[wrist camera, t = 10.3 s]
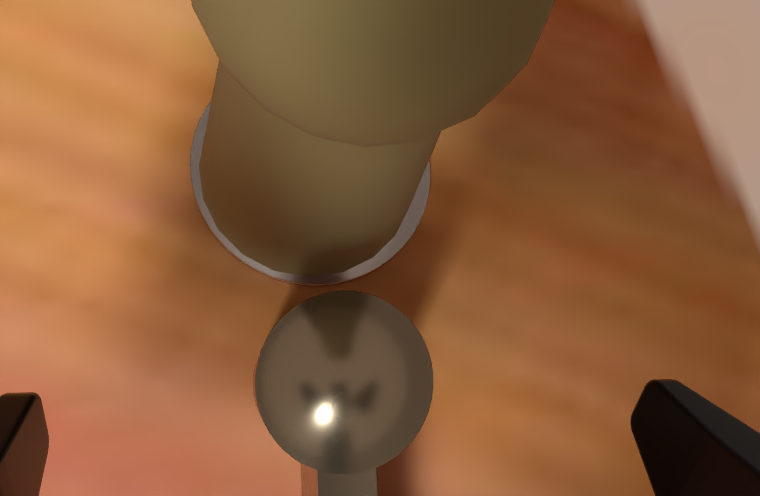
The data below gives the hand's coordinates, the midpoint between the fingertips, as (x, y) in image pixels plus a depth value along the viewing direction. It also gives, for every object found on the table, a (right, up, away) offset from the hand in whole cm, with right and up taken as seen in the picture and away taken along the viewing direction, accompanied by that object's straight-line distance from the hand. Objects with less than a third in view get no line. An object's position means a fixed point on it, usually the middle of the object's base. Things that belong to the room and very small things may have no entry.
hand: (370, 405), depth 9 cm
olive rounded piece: (-2, +4, +9) cm, 10 cm away
